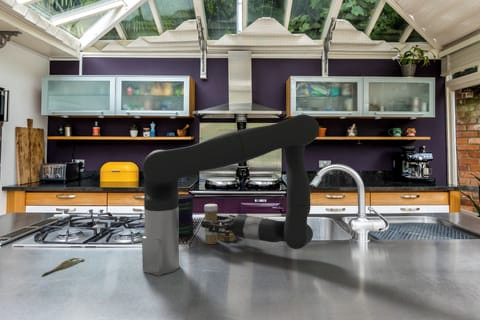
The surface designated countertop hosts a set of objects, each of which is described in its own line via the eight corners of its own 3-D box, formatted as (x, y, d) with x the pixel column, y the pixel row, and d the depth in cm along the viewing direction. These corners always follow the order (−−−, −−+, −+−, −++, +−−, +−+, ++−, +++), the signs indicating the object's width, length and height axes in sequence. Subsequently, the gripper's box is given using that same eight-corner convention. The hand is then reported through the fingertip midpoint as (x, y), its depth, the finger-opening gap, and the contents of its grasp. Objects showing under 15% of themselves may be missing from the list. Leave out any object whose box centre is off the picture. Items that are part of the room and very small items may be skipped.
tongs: (37, 279, 80) (37, 271, 80) (75, 262, 93) (75, 255, 93) (50, 280, 79) (50, 273, 79) (86, 263, 92) (86, 256, 92)
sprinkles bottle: (219, 243, 107) (219, 205, 106) (208, 245, 104) (208, 206, 103) (213, 239, 110) (213, 202, 109) (202, 241, 108) (202, 204, 107)
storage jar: (191, 239, 111) (190, 198, 110) (164, 239, 111) (163, 198, 110) (195, 231, 121) (195, 193, 120) (170, 231, 121) (170, 193, 120)
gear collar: (230, 242, 107) (230, 235, 107) (213, 239, 111) (213, 232, 110) (240, 236, 113) (240, 230, 113) (223, 234, 117) (223, 227, 117)
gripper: (259, 211, 105) (219, 206, 113) (239, 221, 93) (196, 214, 101) (259, 232, 106) (219, 226, 114) (239, 245, 93) (196, 237, 101)
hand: (209, 221), depth 107 cm, fingers open, 8 cm apart
